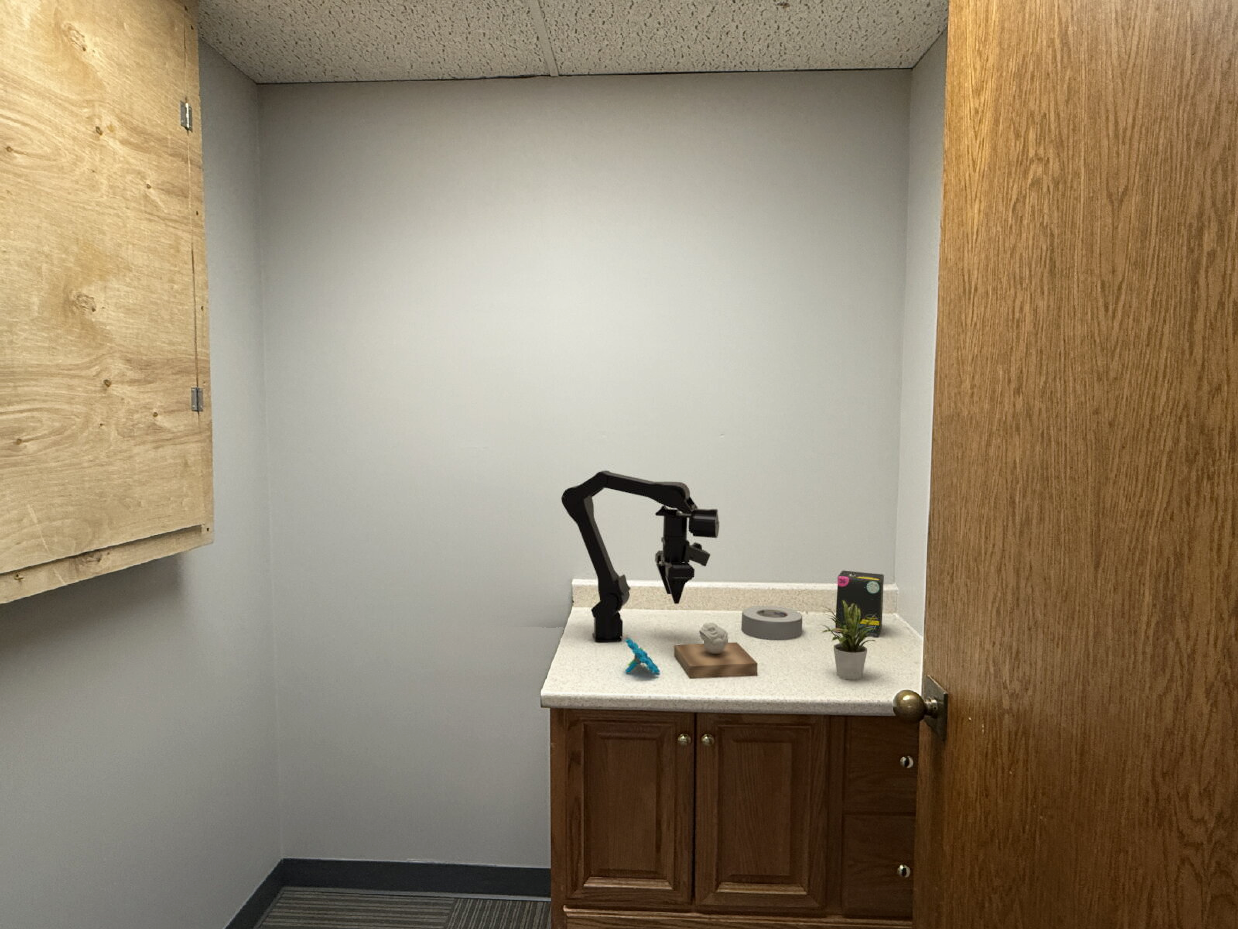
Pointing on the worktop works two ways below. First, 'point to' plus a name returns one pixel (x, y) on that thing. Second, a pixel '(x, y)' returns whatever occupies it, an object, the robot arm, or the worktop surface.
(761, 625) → the tape roll
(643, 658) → the gear
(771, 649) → the worktop surface
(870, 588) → the tampon box
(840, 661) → the house plant
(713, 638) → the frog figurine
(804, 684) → the worktop surface
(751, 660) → the walnut block
